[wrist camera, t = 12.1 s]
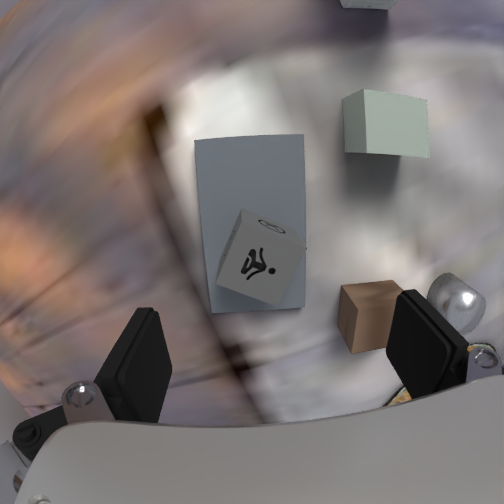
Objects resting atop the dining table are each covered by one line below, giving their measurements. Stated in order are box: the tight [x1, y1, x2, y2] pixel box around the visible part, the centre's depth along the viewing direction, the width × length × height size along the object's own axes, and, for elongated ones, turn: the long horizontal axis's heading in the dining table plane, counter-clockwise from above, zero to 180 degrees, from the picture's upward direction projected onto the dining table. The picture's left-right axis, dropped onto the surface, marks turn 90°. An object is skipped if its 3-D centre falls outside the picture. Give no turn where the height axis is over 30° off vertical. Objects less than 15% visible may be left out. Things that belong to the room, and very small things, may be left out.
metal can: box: [427, 273, 486, 335], centre depth 27 cm, size 5×5×6 cm
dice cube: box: [215, 208, 307, 306], centre depth 23 cm, size 5×5×5 cm
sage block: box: [342, 89, 429, 158], centre depth 21 cm, size 6×5×5 cm
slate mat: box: [194, 134, 306, 313], centre depth 26 cm, size 9×16×1 cm, turn 3°
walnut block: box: [338, 280, 404, 354], centre depth 27 cm, size 6×5×5 cm
